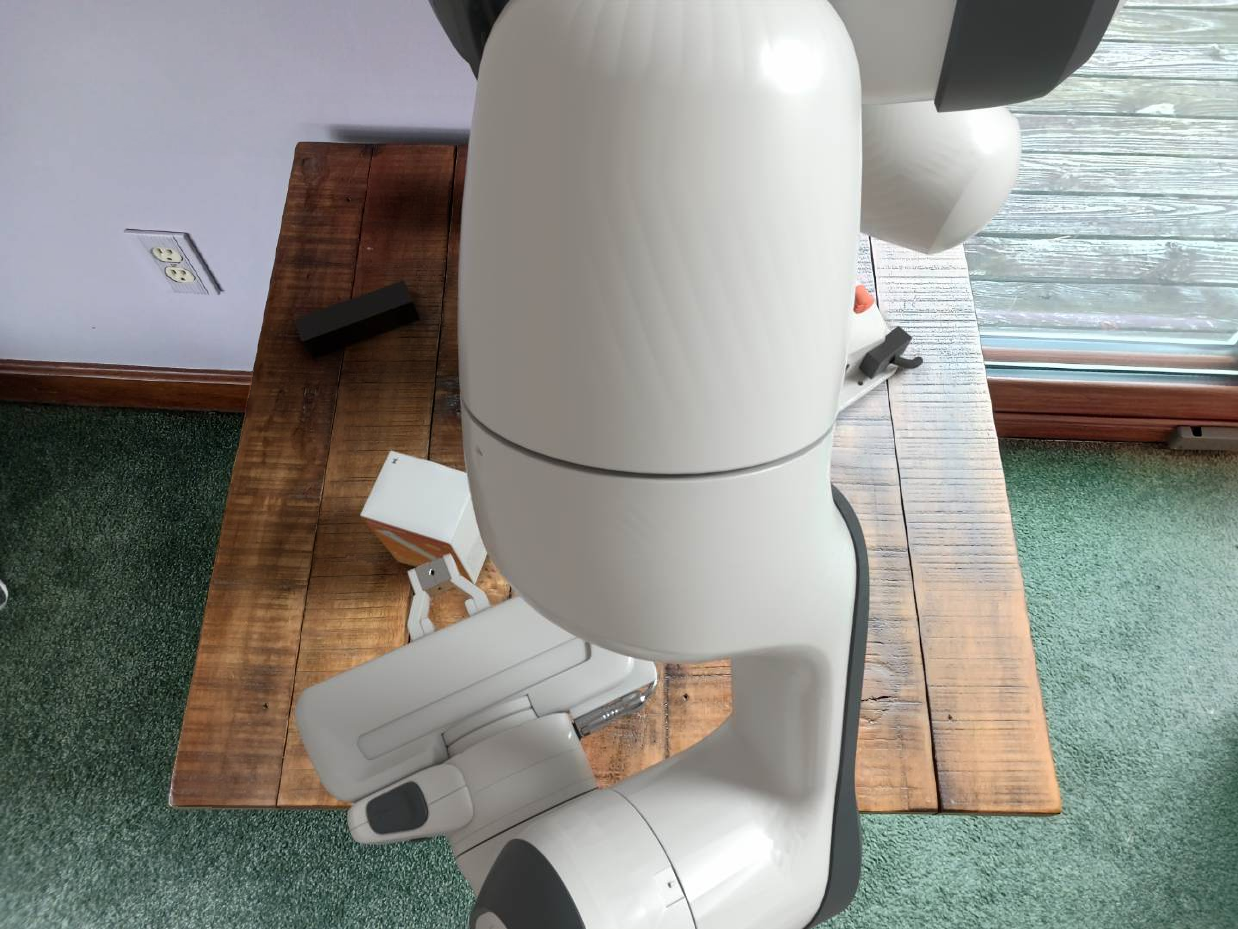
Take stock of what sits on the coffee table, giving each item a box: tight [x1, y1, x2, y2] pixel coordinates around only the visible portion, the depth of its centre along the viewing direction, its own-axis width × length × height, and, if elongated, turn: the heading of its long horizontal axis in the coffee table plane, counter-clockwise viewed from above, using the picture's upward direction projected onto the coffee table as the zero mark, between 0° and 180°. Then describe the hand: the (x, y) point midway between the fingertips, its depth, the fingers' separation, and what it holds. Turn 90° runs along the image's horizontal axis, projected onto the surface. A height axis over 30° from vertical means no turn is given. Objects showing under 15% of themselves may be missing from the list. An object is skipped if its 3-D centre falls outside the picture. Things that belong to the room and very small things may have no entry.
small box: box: [359, 450, 488, 586], centre depth 71 cm, size 8×6×13 cm
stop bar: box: [293, 279, 421, 360], centre depth 86 cm, size 12×3×4 cm, turn 115°
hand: (430, 564), depth 52 cm, fingers closed
